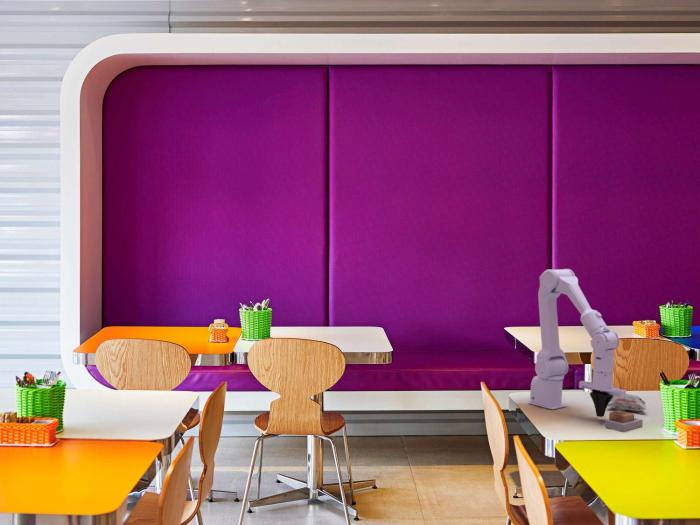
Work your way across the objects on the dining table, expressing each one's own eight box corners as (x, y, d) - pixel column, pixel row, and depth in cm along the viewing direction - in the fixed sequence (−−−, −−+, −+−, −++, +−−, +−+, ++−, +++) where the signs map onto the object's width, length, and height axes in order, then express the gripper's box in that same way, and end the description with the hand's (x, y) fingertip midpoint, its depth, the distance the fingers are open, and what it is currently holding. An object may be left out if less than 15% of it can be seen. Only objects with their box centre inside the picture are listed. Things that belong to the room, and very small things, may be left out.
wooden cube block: (608, 425, 225) (609, 412, 225) (618, 423, 228) (618, 410, 228) (624, 430, 221) (624, 416, 221) (633, 427, 224) (634, 414, 224)
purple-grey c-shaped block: (604, 426, 223) (605, 420, 223) (623, 421, 230) (624, 415, 230) (623, 431, 218) (623, 425, 218) (642, 426, 225) (642, 419, 225)
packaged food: (645, 415, 238) (646, 400, 238) (605, 411, 242) (606, 395, 242) (645, 409, 246) (646, 394, 246) (606, 405, 250) (607, 390, 250)
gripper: (632, 374, 226) (629, 419, 227) (589, 365, 237) (586, 408, 238) (619, 377, 221) (616, 423, 222) (576, 368, 233) (573, 411, 234)
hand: (600, 416), depth 230 cm, fingers closed
